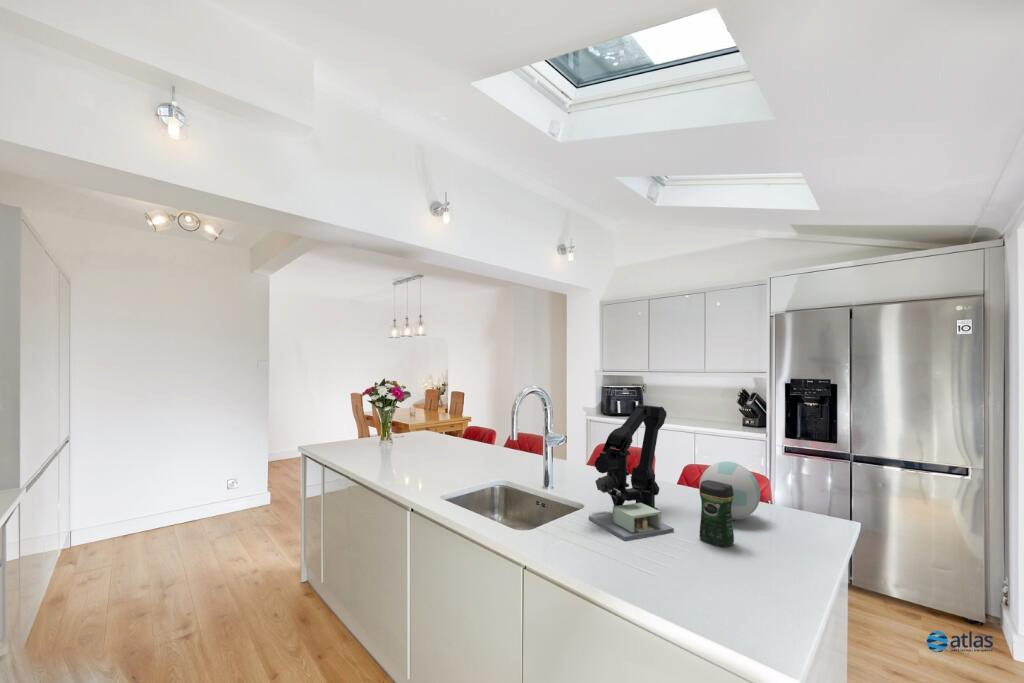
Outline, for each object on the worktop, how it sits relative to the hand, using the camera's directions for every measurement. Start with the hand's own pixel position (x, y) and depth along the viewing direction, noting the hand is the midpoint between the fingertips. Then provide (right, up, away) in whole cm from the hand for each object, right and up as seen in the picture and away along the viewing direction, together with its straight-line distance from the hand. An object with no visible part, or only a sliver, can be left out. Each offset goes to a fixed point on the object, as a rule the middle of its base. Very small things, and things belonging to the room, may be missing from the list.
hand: (617, 512), depth 162 cm
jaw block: (+4, -1, -10) cm, 11 cm away
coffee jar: (+27, -2, -19) cm, 33 cm away
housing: (+3, -1, -8) cm, 8 cm away
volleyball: (+41, -3, +3) cm, 41 cm away
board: (+3, -2, -6) cm, 7 cm away
